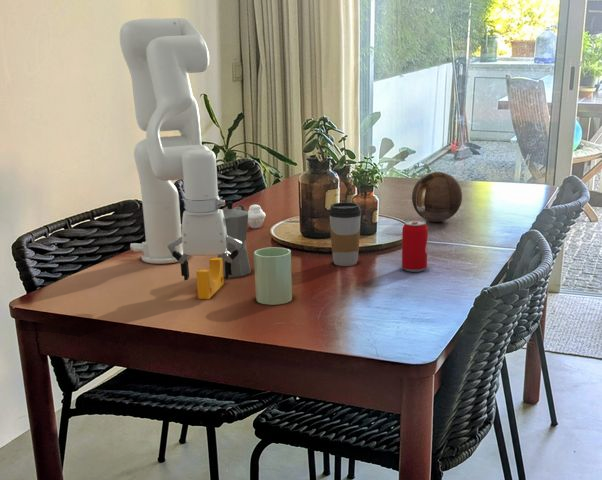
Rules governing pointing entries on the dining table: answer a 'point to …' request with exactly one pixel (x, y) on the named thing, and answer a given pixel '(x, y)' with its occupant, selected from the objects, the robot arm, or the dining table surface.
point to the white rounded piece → (255, 216)
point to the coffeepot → (238, 230)
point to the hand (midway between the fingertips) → (207, 278)
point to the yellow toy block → (210, 279)
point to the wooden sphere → (437, 196)
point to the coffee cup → (345, 232)
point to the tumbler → (273, 275)
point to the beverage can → (414, 245)
